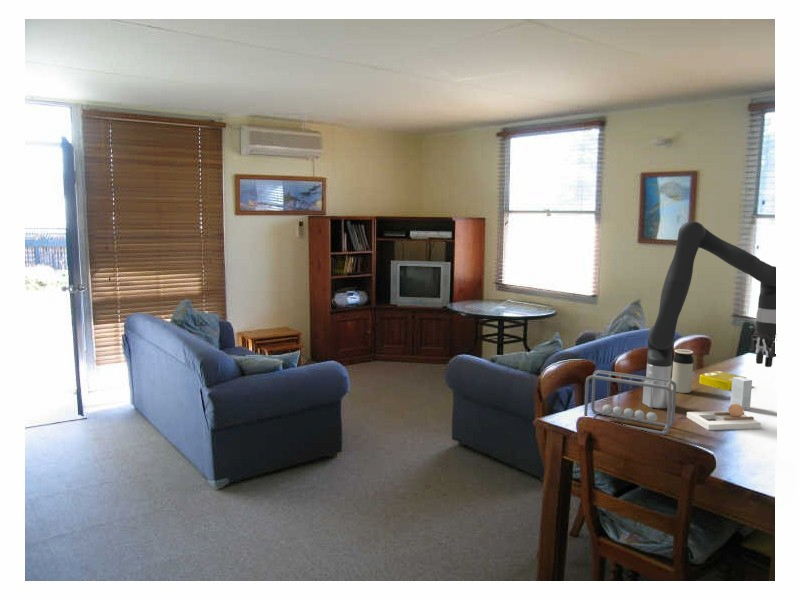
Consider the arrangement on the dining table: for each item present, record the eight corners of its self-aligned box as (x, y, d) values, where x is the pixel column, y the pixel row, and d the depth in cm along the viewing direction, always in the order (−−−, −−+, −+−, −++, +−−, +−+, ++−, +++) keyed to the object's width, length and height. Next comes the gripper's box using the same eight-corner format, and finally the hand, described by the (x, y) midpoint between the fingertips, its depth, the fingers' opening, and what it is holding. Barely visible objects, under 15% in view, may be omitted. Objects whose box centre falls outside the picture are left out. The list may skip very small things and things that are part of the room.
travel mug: (692, 394, 263) (695, 353, 261) (672, 392, 266) (674, 352, 263) (689, 389, 271) (692, 349, 268) (670, 387, 273) (673, 348, 271)
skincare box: (750, 409, 244) (752, 380, 242) (741, 410, 242) (744, 381, 241) (737, 404, 249) (740, 376, 248) (729, 405, 248) (731, 377, 246)
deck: (708, 430, 220) (708, 422, 220) (686, 417, 234) (687, 410, 234) (760, 428, 222) (760, 420, 222) (735, 415, 236) (736, 408, 236)
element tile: (728, 392, 268) (729, 381, 268) (697, 383, 281) (697, 373, 280) (747, 387, 276) (748, 376, 275) (716, 379, 289) (717, 369, 288)
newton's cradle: (673, 427, 223) (677, 380, 221) (668, 436, 214) (672, 387, 212) (591, 412, 239) (593, 368, 237) (583, 420, 231) (585, 374, 228)
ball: (733, 419, 226) (734, 406, 225) (724, 415, 231) (726, 402, 230) (746, 419, 226) (747, 406, 226) (737, 414, 231) (738, 401, 231)
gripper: (745, 317, 233) (741, 360, 235) (771, 324, 219) (767, 370, 221) (764, 316, 234) (760, 360, 236) (791, 323, 220) (786, 369, 222)
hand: (763, 364), depth 229 cm, fingers open, 4 cm apart
